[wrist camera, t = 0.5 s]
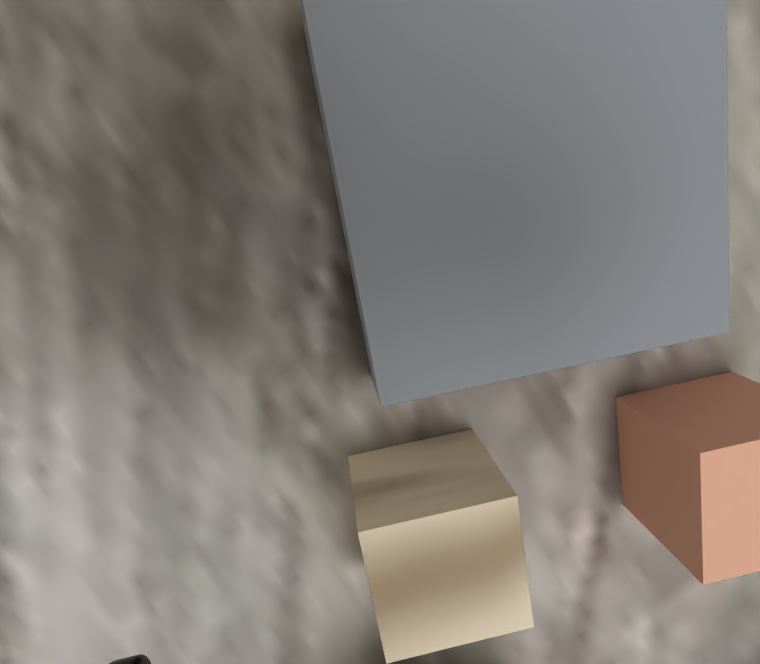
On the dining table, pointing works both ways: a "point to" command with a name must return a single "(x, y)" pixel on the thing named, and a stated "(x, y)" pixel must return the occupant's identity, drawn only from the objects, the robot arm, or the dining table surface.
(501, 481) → the birch cube
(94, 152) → the dining table surface
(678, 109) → the slate board
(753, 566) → the terracotta cube
